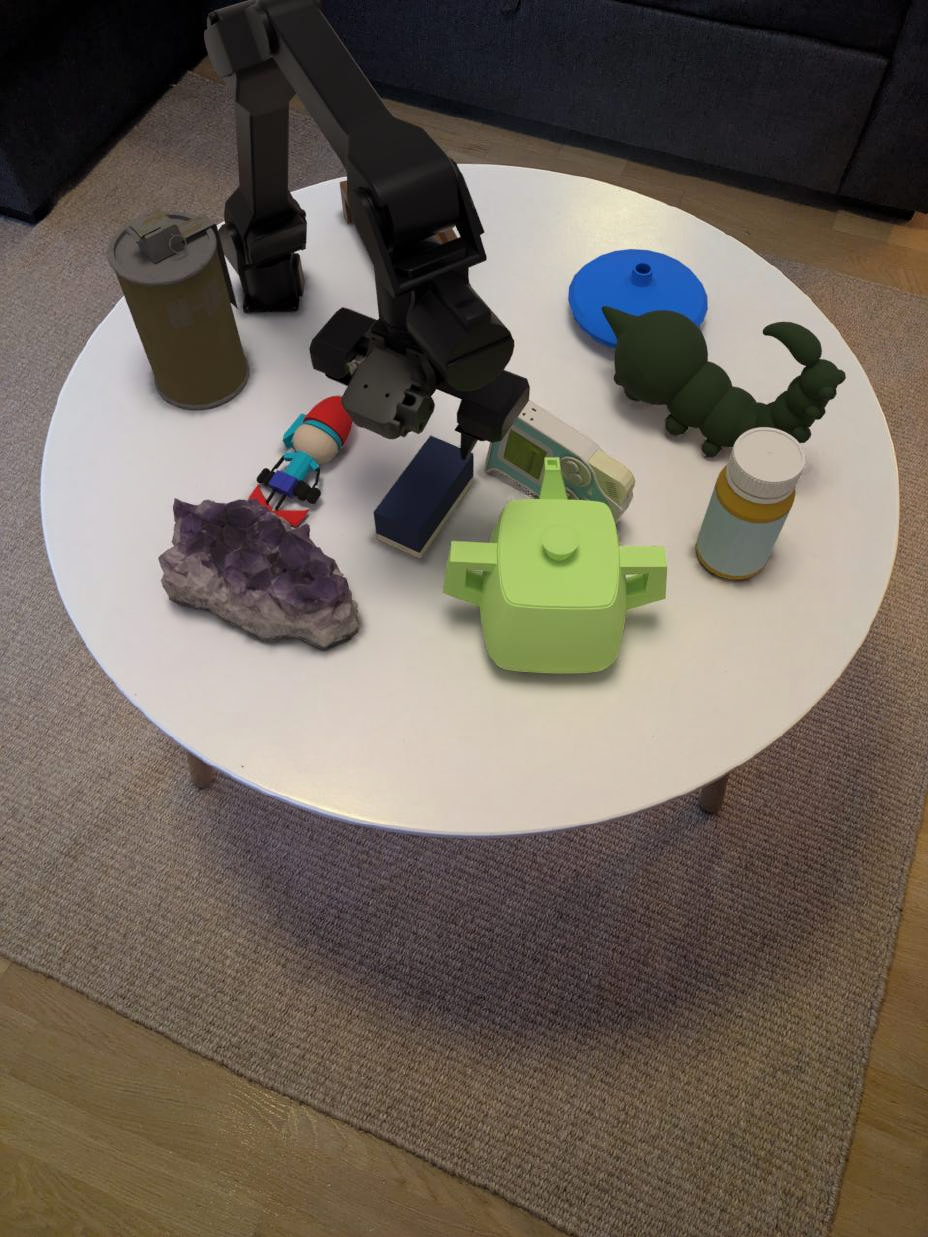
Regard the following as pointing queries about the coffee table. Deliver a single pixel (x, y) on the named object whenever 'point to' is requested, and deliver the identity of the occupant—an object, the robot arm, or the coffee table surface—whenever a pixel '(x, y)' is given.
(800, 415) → the green caterpillar figure
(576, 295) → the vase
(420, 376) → the robot arm
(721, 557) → the bottle
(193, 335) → the canister
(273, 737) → the coffee table surface
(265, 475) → the toy figure
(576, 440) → the handheld gaming console
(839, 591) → the coffee table surface
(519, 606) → the teapot
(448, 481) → the dark blue rectangular block
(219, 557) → the geode
